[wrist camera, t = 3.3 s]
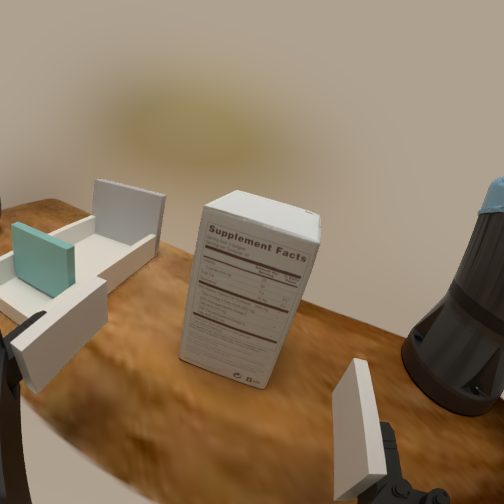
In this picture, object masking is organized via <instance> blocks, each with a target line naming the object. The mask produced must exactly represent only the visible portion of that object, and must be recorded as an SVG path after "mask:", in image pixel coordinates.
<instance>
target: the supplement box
mask: <svg viewBox="0 0 504 504" xmlns="http://www.w3.org/2000/svg"><path fill="white" fill-rule="evenodd" d="M320 225H321V217H320V216H319V215H318V214H315V213H313V212H310V211H307V210H304V209H301V208H298V207H295V206H291V205H288V204H285V203H281V202H278V201H275V200H271V199H267V198H264V197H261V196H257V195H254V194H250V193H247V192H243V191H238V190H235V191H234V192H232V193H229V194H227V195H225V196H223V197H221V198H219V199H217V200H215V201H212V202H210V203H208V204H206V205H204V206H203V212H202V217H201V222H200V227H199V232H198V238H197V243H196V249H195V254H194V259H193V265H192V270H191V276H190V282H189V288H188V295H187V301H186V308H185V315H184V322H183V329H182V337H181V346H180V353H179V358H180V359H182V360H184V361H186V362H189V363H191V364H193V365H196V366H198V367H201V368H203V369H206V370H208V371H211V372H214V373H216V374H219V375H221V376H224V377H227V378H230V379H232V380H235V381H238V382H241V383H244V384H247V385H250V386H253V387H256V388H260V389H265V387H266V385H267V383H268V380H269V378H270V376H271V373H272V371H273V368H274V366H275V363H276V361H277V358H278V356H279V354H280V351H281V349H282V346H283V344H284V341H285V339H286V336H287V334H288V331H289V329H290V326H291V324H292V321H293V319H294V316H295V314H296V311H297V308H298V306H299V303H300V301H301V298H302V295H303V292H304V290H305V287H306V285H307V282H308V279H309V276H310V274H311V271H312V268H313V265H314V262H315V259H316V255H317V252H318V249H319V246H320V239H321V238H320V230H321V226H320Z"/></svg>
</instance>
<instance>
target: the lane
mask: <svg viewBox="0 0 504 504" xmlns="http://www.w3.org/2000/svg"><path fill="white" fill-rule="evenodd" d="M165 200H166V195H165V194H160V193H157V192H153V191H149V190H145V189H141V188H137V187H133V186H129V185H125V184H121V183H117V182H113V181H109V180H104V179H96V180H95V184H94V195H93V207H92V215H91V216H89V217H86V218H84V219H81V220H79V221H77V222H74V223H72V224H69V225H67V226H65V227H62V228H60V229H58V230H56V231H53V232H51V233H49V234H48V235H50V236H53V237H55V238H58V239H60V240H62V241H65V242H67V243H70V244H72V245H75V279H76V283H75V284H74V285H72V286H71V287H69V288H68V289H66V290H65V291H64V292H62V293H61V294H59V295H58V296H57V297H55V298H54V297H52V296H51V295H49V294H47V293H45V292H43V291H42V290H40V289H38V288H36V287H35V286H33V285H31V284H30V283H28V282H26V281H25V280H23V279H21V278H20V277H18V276H16V270H15V262H14V253H13V251H11V252H9V253H7V254H5V255H3V256H1V257H0V311H1V312H2V313H4V314H5V315H6V316H8V317H9V318H10V319H12V320H13V321H14V322H16V323H17V324H18V325H20V324H21V325H22V323H23V322H24V321H26V320H28V318H29V317H31V316H32V315H33V314H35V313H37V312H40V311H43V310H44V311H46V312H49V311H50V310H51V309H53V308H54V307H55V306H56V305H58V304H59V303H60V302H62V301H63V300H64V299H66V298H67V297H68V296H70V295H71V294H72V293H74V292H75V291H76V290H78V289H79V288H80V287H82V286H83V285H85V284H86V283H87V282H89V281H90V280H91V279H93V278H94V277H96V276H97V277H99V278H102V279H104V280H107V295H108V294H109V293H110V292H111V291H113V290H114V289H115V288H116V287H117V286H119V285H120V284H121V283H122V282H123V281H125V280H126V279H127V278H128V277H130V276H131V275H132V274H133V273H135V272H136V271H137V270H138V269H140V268H141V267H142V266H143V265H145V264H146V263H147V262H148V261H150V260H151V259H152V258H153V257H155V256H156V255H157V254H158V249H159V241H160V234H161V227H162V219H163V213H164V207H165Z"/></svg>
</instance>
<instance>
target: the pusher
mask: <svg viewBox="0 0 504 504" xmlns="http://www.w3.org/2000/svg"><path fill="white" fill-rule="evenodd" d="M11 228H12V242H13V253H14V262H15V270H16V276H18V277H20V278H21V279H23V280H25V281H26V282H28V283H30V284H31V285H33V286H35V287H36V288H38V289H40V290H42V291H43V292H45V293H47V294H49V295H51V296H52V297H54V298H55V297H57V296H58V295H59V294H61V293H62V292H64V291H65V290H66V289H68V288H69V287H71V286H72V285H74V284H75V283H76V279H75V245H72V244H70V243H67V242H65V241H62V240H60V239H58V238H55V237H53V236H50V235H48V234H46V233H43V232H41V231H39V230H36V229H34V228H32V227H29V226H27V225H25V224H23V223H20V222H16V223H14V224H11Z"/></svg>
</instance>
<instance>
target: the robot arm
mask: <svg viewBox="0 0 504 504" xmlns="http://www.w3.org/2000/svg"><path fill="white" fill-rule="evenodd" d="M107 322H108V313H107V280H104V279H102V278H99V277H97V276H96V277H94V278H93V279H91V280H90V281H89V282H87V283H86V284H85V285H83V286H82V287H80V288H79V289H78V290H76V291H75V292H74V293H72V294H71V295H70V296H68V297H67V298H66V299H64V300H63V301H62V302H60V303H59V304H58V305H56V306H55V307H54V308H53V309H51V310H50V311H49V312H46V311H44V310H43V311H40V312H37V313H35V314H33V315H32V316H31V317H29V318H28V320H26V321H24V322H23V323H22V325H21V324H20V325H19V326H18V327H17V328H15V329H14V330H13V331H12V332H10V333H9V334H8V335H7V336H5V337H4V338H3V337H2V334H1V330H0V504H32V502H31V497H30V492H29V487H28V482H27V476H26V469H25V462H24V454H23V445H22V434H21V415H20V414H21V413H20V383H19V382H20V381H21V380H22V379H23V380H24V383H25V385H26V387H27V388H28V389H30V390H31V391H32V392H34V393H35V394H36V395H38V394H39V393H40V392H41V391H42V390H43V388H44V387H45V386H46V385H47V384H48V383H49V382H50V381H51V380H52V379H53V378H54V377H55V375H56V374H57V373H58V372H59V371H60V370H61V369H62V368H63V367H64V366H65V365H66V364H67V363H68V362H69V361H70V360H71V359H72V358H73V356H74V355H75V354H76V353H77V352H78V351H79V350H80V349H81V348H82V347H83V346H84V345H85V344H86V343H87V342H88V341H89V340H90V339H91V338H92V337H93V336H94V335H95V334H96V333H97V332H98V331H99V330H100V329H101V328H102V327H103V326H104V325H105V324H106V323H107ZM402 358H403V361H404V364H405V366H406V368H407V370H408V372H409V374H410V375H411V377H412V378H413V380H414V381H415V382H416V383H417V385H418V386H419V387H420V388H421V389H422V390H423V391H424V392H425V393H426V394H427V395H428V396H430V397H431V398H432V399H433V400H435V401H436V402H437V403H439V404H440V405H442V406H444V407H446V408H447V409H449V410H452V411H454V412H457V413H460V414H463V415H470V416H475V415H481V414H483V413H485V412H487V411H488V410H489V409H490V408H491V407H492V406H493V405H494V403H495V402H496V401H497V400H498V398H499V397H500V396H501V394H502V392H503V390H504V177H499V178H497V179H495V180H494V181H493V182H492V183H491V184H490V186H489V188H488V191H487V194H486V197H485V200H484V203H483V205H482V207H481V210H479V212H478V219H477V222H476V225H475V228H474V231H473V233H472V236H471V239H470V241H469V244H468V247H467V249H466V251H465V254H464V256H463V259H462V261H461V263H460V266H459V268H458V270H457V273H456V275H455V277H454V279H453V281H452V284H451V285H450V288H449V289H448V292H447V293H446V295H445V296H444V297H443V298H442V299H441V300H440V301H439V303H438V304H437V305H436V306H435V307H434V308H433V309H432V310H431V311H430V312H429V313H428V314H427V315H426V316H425V317H423V318H422V319H421V321H419V322H418V323H417V324H416V325H415V326H414V327H413V329H412V330H411V331H410V333H409V335H408V337H407V338H406V340H405V342H404V344H403V346H402ZM332 407H333V433H334V501H351V500H353V499H354V498H356V497H357V496H358V503H357V504H450V498H449V495H448V493H447V492H446V491H445V490H443V489H440V488H436V489H433V490H432V491H430V492H429V493H425V492H422V491H418V490H414V489H412V487H411V485H410V483H409V482H408V481H407V480H405V479H403V478H402V473H401V467H400V461H399V455H398V450H397V444H396V443H395V442H396V439H395V434H394V431H393V429H392V427H391V426H390V424H389V423H387V422H379V417H378V412H377V407H376V401H375V396H374V391H373V387H372V382H371V377H370V372H369V368H368V363H367V361H365V360H361V359H356V358H353V360H352V362H351V363H350V365H349V367H348V368H347V370H346V372H345V373H344V375H343V377H342V378H341V380H340V382H339V383H338V385H337V386H336V388H335V390H334V391H333V393H332Z"/></svg>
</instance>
